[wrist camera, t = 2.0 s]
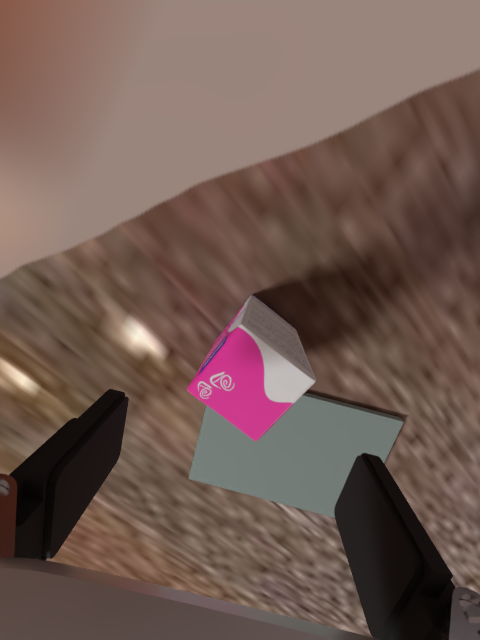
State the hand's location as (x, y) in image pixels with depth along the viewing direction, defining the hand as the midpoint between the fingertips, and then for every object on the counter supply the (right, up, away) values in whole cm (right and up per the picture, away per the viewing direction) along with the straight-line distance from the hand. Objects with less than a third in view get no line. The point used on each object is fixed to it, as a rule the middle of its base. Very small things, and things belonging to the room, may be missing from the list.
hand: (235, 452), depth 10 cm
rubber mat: (+6, -9, +19) cm, 22 cm away
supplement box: (+2, +4, +16) cm, 17 cm away
